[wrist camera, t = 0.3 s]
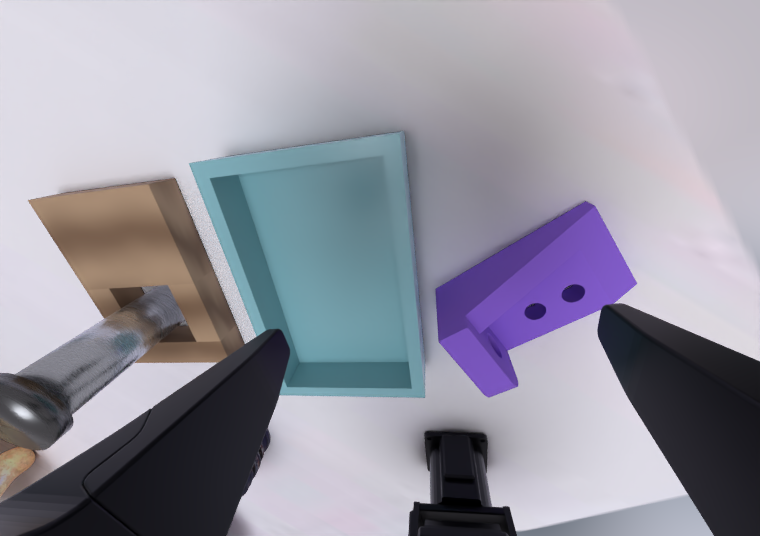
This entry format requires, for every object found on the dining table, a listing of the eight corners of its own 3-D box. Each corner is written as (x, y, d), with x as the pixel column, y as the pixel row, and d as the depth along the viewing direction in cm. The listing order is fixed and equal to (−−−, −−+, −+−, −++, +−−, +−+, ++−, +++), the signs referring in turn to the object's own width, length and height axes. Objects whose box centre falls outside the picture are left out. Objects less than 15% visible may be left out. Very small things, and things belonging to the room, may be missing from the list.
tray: (425, 362, 28) (425, 397, 24) (296, 362, 30) (279, 395, 27) (404, 130, 19) (399, 133, 16) (227, 156, 22) (189, 163, 18)
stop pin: (208, 321, 29) (69, 452, 18) (164, 323, 30) (3, 448, 19) (187, 275, 27) (11, 390, 16) (139, 278, 28) (-59, 389, 17)
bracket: (479, 341, 27) (495, 407, 20) (435, 286, 25) (438, 341, 19) (623, 273, 22) (699, 332, 16) (583, 200, 20) (651, 235, 14)
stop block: (244, 344, 30) (230, 362, 28) (153, 345, 32) (132, 362, 30) (174, 178, 23) (148, 184, 21) (63, 193, 25) (27, 200, 23)
